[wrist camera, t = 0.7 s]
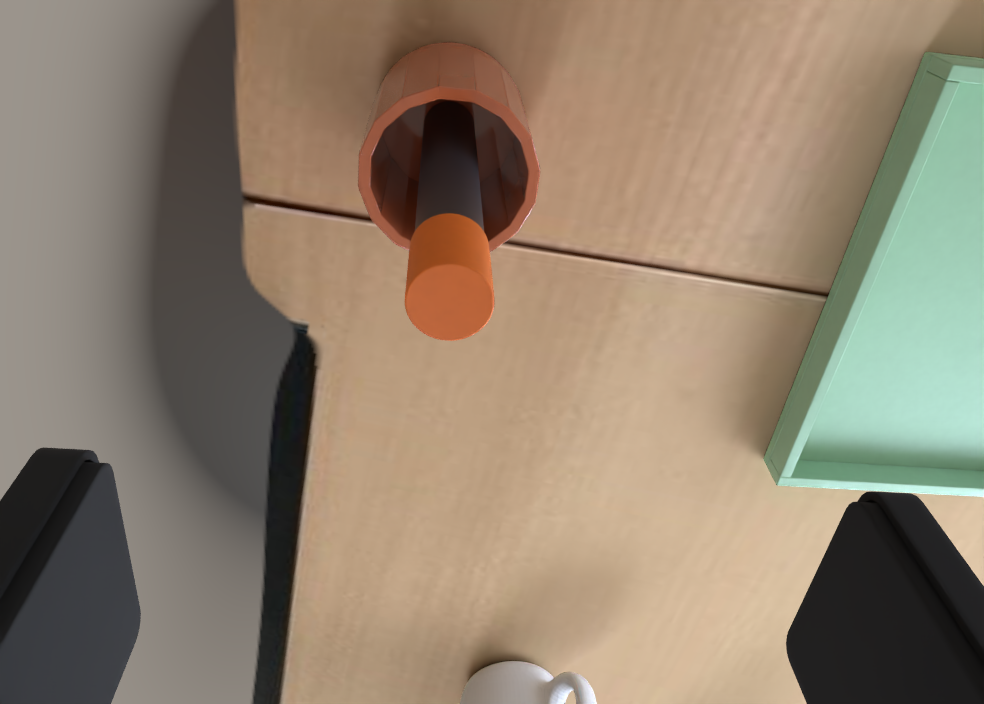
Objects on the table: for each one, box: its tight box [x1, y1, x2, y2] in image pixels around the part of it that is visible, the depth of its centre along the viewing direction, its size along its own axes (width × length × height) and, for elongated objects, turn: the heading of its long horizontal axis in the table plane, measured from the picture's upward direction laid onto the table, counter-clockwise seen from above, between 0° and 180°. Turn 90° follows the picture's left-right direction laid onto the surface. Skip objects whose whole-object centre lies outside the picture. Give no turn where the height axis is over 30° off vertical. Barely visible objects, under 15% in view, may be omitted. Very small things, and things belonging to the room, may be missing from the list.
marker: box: [405, 101, 494, 341], centre depth 25 cm, size 2×2×14 cm
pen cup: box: [358, 42, 540, 252], centre depth 29 cm, size 6×6×6 cm
